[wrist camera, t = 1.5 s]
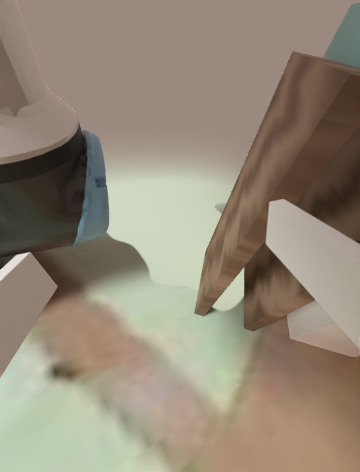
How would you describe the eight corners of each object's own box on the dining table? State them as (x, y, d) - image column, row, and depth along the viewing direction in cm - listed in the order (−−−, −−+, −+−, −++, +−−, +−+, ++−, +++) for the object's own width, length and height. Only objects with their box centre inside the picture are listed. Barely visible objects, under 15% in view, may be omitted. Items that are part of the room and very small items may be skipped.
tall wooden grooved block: (253, 331, 29) (640, 137, 6) (194, 313, 30) (351, 73, 7) (252, 264, 38) (414, 77, 15) (205, 251, 38) (292, 51, 15)
